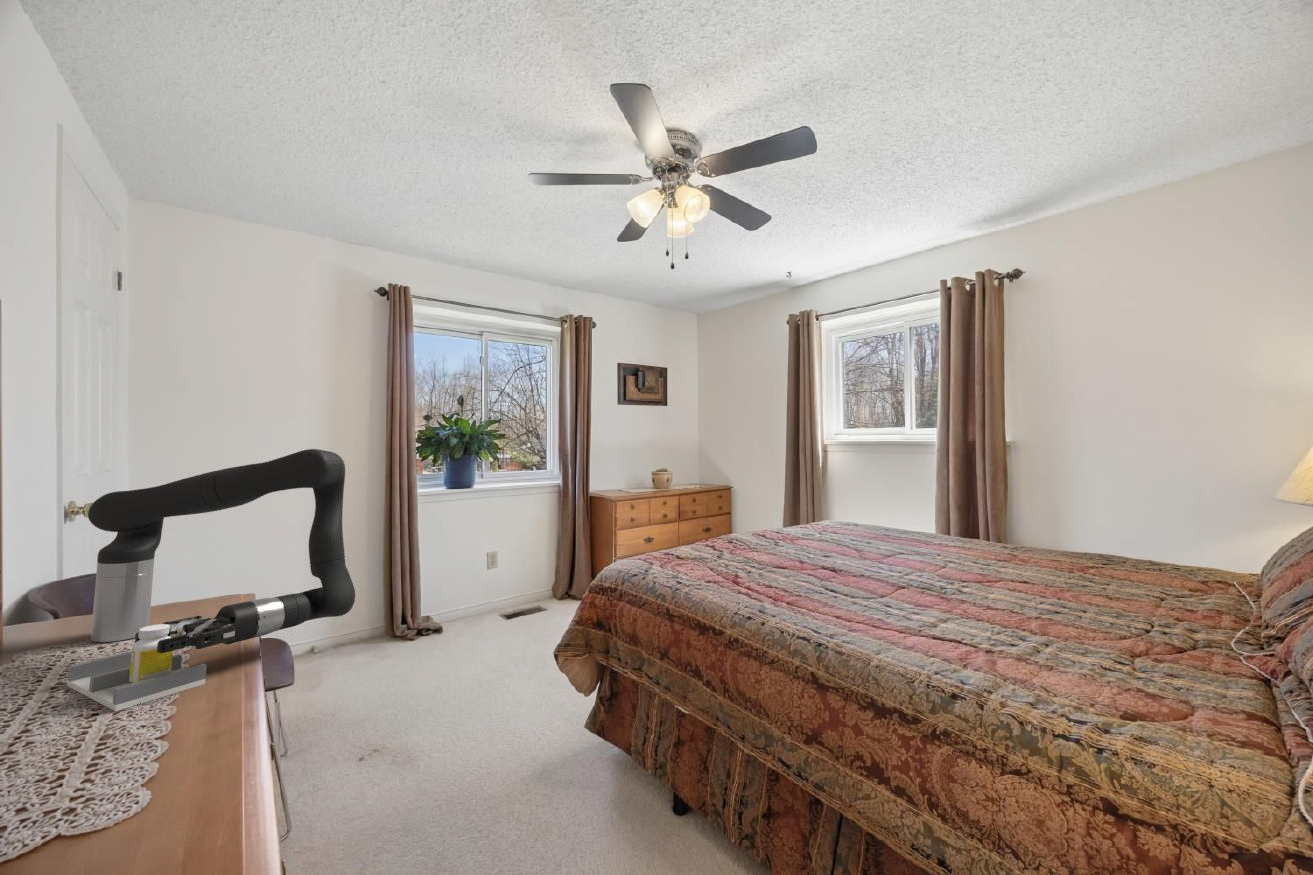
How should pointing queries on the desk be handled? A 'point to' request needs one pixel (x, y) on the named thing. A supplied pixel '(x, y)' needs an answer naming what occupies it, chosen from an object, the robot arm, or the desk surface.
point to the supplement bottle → (150, 654)
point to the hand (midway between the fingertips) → (146, 643)
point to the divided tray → (112, 685)
